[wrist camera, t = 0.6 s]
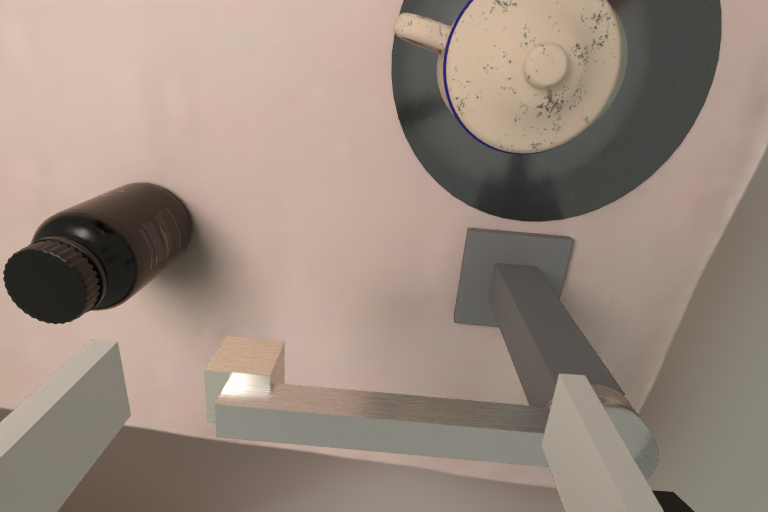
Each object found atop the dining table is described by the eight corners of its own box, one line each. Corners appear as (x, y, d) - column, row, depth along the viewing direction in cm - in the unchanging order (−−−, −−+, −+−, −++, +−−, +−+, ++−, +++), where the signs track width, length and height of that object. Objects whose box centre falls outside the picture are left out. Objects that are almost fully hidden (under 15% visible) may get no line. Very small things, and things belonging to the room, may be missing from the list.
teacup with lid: (590, 20, 31) (691, -7, 21) (532, 152, 35) (592, 189, 24) (419, -45, 30) (430, -109, 19) (375, 97, 34) (363, 110, 23)
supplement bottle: (119, 165, 36) (-6, 207, 25) (204, 204, 37) (120, 261, 26) (98, 241, 38) (-25, 311, 27) (179, 276, 39) (91, 357, 28)
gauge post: (467, 227, 37) (516, 339, 22) (569, 236, 37) (691, 355, 22) (453, 317, 40) (487, 473, 24) (548, 326, 40) (642, 487, 24)
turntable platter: (408, -145, 29) (408, -147, 28) (771, -112, 29) (774, -114, 28) (379, 207, 37) (379, 208, 36) (663, 232, 37) (664, 233, 36)
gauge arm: (621, 359, 24) (671, 424, 20) (600, 428, 26) (642, 502, 21) (226, 323, 24) (186, 381, 20) (229, 395, 26) (193, 462, 21)
